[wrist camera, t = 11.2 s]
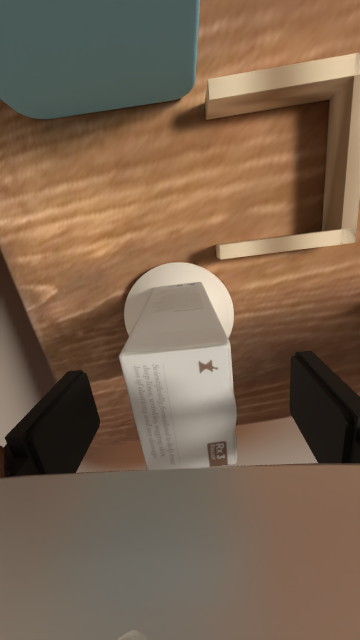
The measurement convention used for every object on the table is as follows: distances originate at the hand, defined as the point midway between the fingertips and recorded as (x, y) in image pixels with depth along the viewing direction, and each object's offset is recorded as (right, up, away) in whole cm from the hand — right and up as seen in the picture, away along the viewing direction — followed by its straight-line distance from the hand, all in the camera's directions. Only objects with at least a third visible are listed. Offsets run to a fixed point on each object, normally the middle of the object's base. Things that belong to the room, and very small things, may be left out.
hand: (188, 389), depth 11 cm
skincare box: (0, +3, +10) cm, 11 cm away
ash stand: (+6, +14, +7) cm, 17 cm away
